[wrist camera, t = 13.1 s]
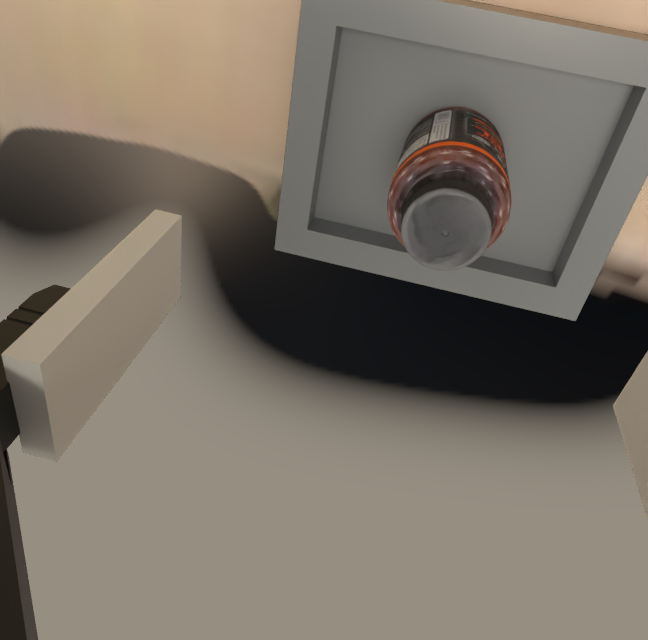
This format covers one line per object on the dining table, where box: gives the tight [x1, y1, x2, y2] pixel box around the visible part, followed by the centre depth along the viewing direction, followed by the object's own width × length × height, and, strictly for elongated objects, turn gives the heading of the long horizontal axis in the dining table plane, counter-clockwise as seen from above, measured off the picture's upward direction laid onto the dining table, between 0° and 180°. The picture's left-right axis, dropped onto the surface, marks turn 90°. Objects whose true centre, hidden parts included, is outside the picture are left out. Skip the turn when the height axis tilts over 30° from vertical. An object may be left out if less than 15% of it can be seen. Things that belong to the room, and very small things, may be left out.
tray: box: [275, 0, 648, 321], centre depth 34 cm, size 20×16×3 cm
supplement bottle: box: [387, 107, 511, 271], centre depth 30 cm, size 6×6×11 cm
